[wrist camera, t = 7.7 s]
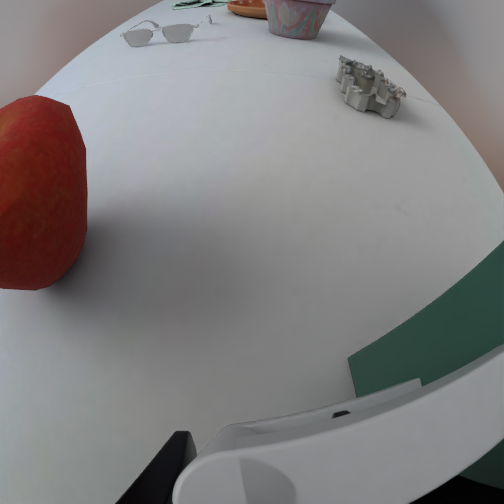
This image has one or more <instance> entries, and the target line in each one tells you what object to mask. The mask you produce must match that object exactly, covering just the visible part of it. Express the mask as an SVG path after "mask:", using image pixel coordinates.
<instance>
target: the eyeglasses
mask: <svg viewBox="0 0 504 504" xmlns="http://www.w3.org/2000/svg"><path fill="white" fill-rule="evenodd" d="M207 17H209V23H211V22H212V19H211V17H210V15H208V16H207ZM146 21H149V20H146ZM146 21H143V22H146ZM203 21H204V20H203ZM203 21H202V22H203ZM143 22H141V23H143ZM149 22H151V23H152V24H153V25H154V27H158V26H159V25H158V24H156V23H155V22H153V21H149ZM202 22H201V23H202ZM141 23H139V24H141ZM136 26H137V25H136ZM198 26H199V24H197V25H193V26H192V25H191V24H175V25H169V26H166V27H164V28H163V29H156V30H162V33H163V35H164V37H165V38H166V39H167V40H168V41H169V42H172V43H179V42H184V41H187V40H188V39H189V38H190V36H191V34H192V32H193V28H197V27H198ZM134 27H135V26H134ZM134 27H133V28H134ZM131 29H132V28H131ZM156 30H153V31H156ZM122 36H124V39H125V40H126V42H127V43H128V44H129V45H130V46H132V47H140V46H144V45H147V44H148V43H149V41H150V39H151V37H152V36H153V32H152V31H151V30H150V29H136V30H130V31H129V30H128V31H127V32H125V33H122V34H121V35H120V37H122Z"/></svg>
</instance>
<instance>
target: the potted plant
mask: <svg viewBox="0 0 504 504" xmlns="http://www.w3.org/2000/svg"><path fill="white" fill-rule="evenodd" d="M335 2H336V0H264V3H265V9H266V14H267V19H268V25H269V30H270V32H271V33H272V34H275V35H278V36H283V37H288V38H293V39H304V40H309V39H315V38H316V36H317V34H318V32H319V30H320V28H321V26H322V24H323V22H324V20H325V18H326V16H327V14H328V12H329V10H330V7H331V5H332V4H335Z"/></svg>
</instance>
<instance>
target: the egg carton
mask: <svg viewBox="0 0 504 504" xmlns="http://www.w3.org/2000/svg"><path fill="white" fill-rule="evenodd" d="M339 65H340V66H339V70H338V74H337V81H338V82H341V87H340V90H341V92H343V93H346V95H345V98H344V102H345V103H346V104H348V105H350V106H352V107H354V108H355V109H356V110H358V111H362V112H365V110H366V109H368V110H373V111H376V112H378V113H380V114H381V116H382V117H385V118H390V116H394V115H395V114H396V112H397V110H398V108H399V106H400V98H406V93H405V91H404V90H403V88H401V87H398V88H397V86H396V85H395V84H393V82H391V81H390V80H388V79H387V78H384V74H383V72H381V70H378V71H374V70H373V69H372V66H371V65H369V66H366V65H364V64H363V63H358V62H356V61H355V60H353V61H351V60H349V59H346V58H345V57H343V56H341V55H340V59H339Z"/></svg>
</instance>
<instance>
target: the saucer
mask: <svg viewBox="0 0 504 504" xmlns="http://www.w3.org/2000/svg"><path fill="white" fill-rule="evenodd" d="M227 7H228V10H231V11H233V12H234V13H236V14H239V15H242V16H248V17H256V18H267V14H266V9H265V3H264V0H236V1H231V2H228V3H227Z"/></svg>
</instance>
